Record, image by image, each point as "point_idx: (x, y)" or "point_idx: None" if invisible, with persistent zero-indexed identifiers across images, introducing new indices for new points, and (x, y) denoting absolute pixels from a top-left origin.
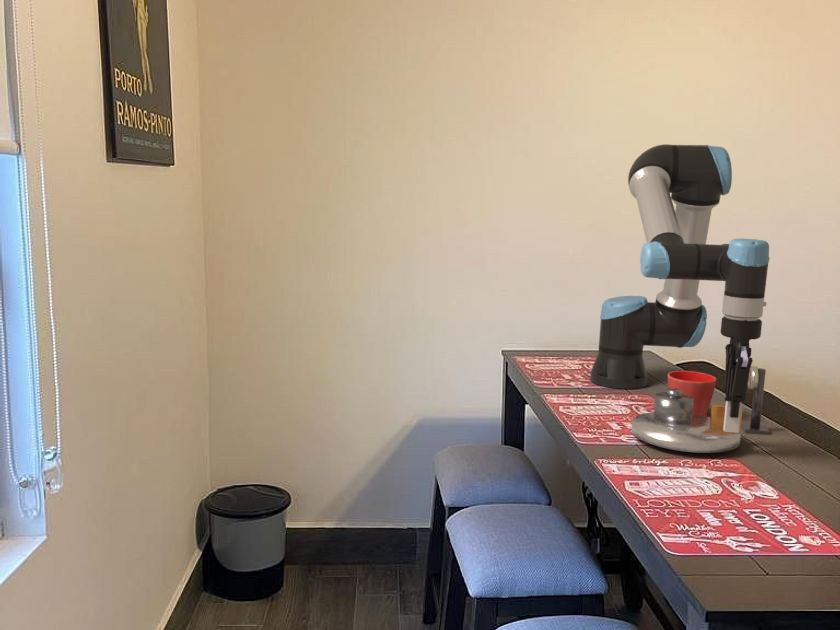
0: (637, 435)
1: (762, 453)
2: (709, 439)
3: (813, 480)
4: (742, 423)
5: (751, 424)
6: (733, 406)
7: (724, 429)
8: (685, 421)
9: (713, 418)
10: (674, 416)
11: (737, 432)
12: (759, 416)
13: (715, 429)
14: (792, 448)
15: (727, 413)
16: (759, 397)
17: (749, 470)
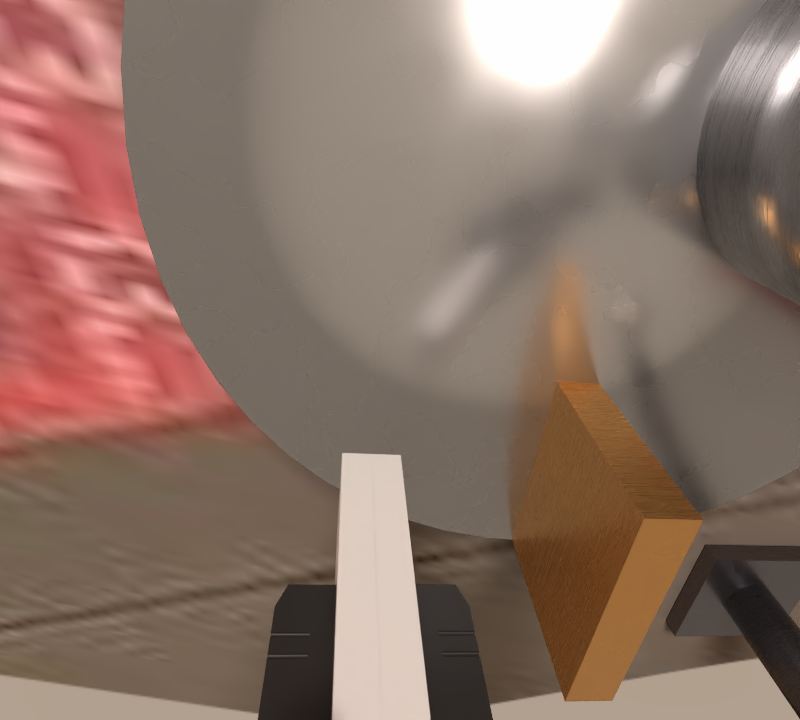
0: None
1: None
2: (275, 311)
3: (38, 636)
4: None
5: (756, 599)
6: (258, 717)
7: (354, 463)
8: (717, 216)
9: (586, 447)
10: (770, 92)
11: (337, 526)
12: (765, 667)
13: (548, 412)
14: None
15: (337, 590)
16: None
17: (56, 431)
